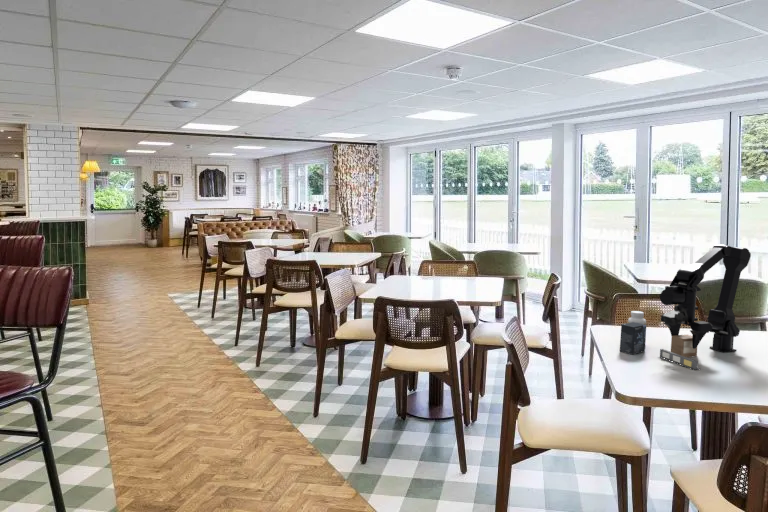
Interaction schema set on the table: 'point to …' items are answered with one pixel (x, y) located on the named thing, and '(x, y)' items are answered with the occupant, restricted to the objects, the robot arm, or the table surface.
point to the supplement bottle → (637, 317)
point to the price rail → (679, 359)
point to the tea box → (683, 345)
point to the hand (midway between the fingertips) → (684, 345)
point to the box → (633, 338)
